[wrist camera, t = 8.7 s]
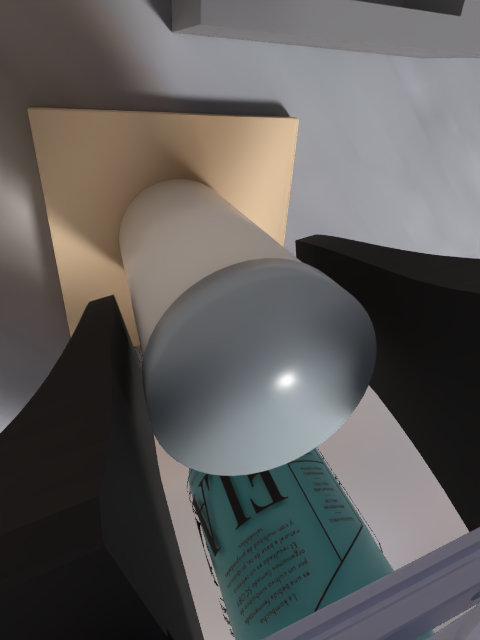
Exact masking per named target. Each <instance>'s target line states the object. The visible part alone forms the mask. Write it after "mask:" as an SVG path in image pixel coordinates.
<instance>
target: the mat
mask: <svg viewBox="0 0 480 640" xmlns="http://www.w3.org/2000/svg"><path fill="white" fill-rule="evenodd" d="M27 110H28V116H29V121H30V126H31V131H32V137H33V142H34V147H35V153H36V158H37V163H38V168H39V174H40V179H41V184H42V189H43V195H44V200H45V205H46V210H47V216H48V221H49V226H50V231H51V237H52V242H53V247H54V252H55V258H56V263H57V268H58V273H59V279H60V284H61V289H62V294H63V300H64V305H65V310H66V315H67V321H68V326H69V331H70V336H72V335H73V333H74V331H75V329H76V327H77V325H78V323H79V320H80V318H81V316H82V314H83V312H84V310H85V308H86V306H87V304H88V303H89V302H90V301H93V300H97V299H100V298H103V297H107V296H110V295H113V294H114V296H115V298H116V301H117V304H118V306H119V309H120V312H121V314H122V317H123V320H124V322H125V325H126V328H127V330H128V333H129V336H130V338H131V341H132V343H133V346H134V347H137V346H140V342H139V337H138V332H137V327H136V323H135V318H134V313H133V308H132V303H131V299H130V294H129V289H128V284H127V279H126V275H125V270H124V265H123V260H122V255H121V251H120V245H119V231H120V225H121V221H122V218H123V216H124V213H125V211H126V209H127V208H128V206H129V204H130V203H131V202H132V201H133V199H134V198H135V197H136V196H137V195H138V194H139V193H141V192H142V191H143V190H145V189H146V188H148V187H149V186H151V185H153V184H155V183H158V182H161V181H164V180H169V179H189V180H194V181H197V182H200V183H203V184H205V185H207V186H208V187H210V188H212V189H213V190H214V191H216V192H217V193H218V194H219V195H221V196H222V197H223V198H224V199H226V200H227V201H228V202H229V203H230V204H232V205H233V206H234V207H235V208H236V209H238V210H239V211H240V212H241V213H243V214H244V215H245V216H246V217H247V218H249V219H250V220H251V221H252V222H254V223H255V224H256V225H257V226H258V227H260V228H261V229H262V230H263V231H264V232H266V233H267V234H268V235H269V236H271V237H272V238H273V239H274V240H275V241H277V242H278V243H279V244H280V245H282V246H284V238H285V230H286V222H287V214H288V206H289V197H290V189H291V181H292V173H293V165H294V157H295V149H296V140H297V132H298V124H299V119H298V118H294V117H282V116H255V115H228V114H200V113H173V112H146V111H119V110H92V109H64V108H37V107H29V108H28V109H27Z"/></svg>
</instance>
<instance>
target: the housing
mask: <svg viewBox="0 0 480 640" xmlns="http://www.w3.org/2000/svg"><path fill="white" fill-rule="evenodd" d="M171 10H172V32H173V33H183V34H192V35H202V36H212V37H222V38H232V39H241V40H251V41H261V42H271V43H280V44H290V45H300V46H310V47H320V48H329V49H339V50H349V51H359V52H369V53H378V54H388V55H398V56H408V57H418V58H480V0H171Z"/></svg>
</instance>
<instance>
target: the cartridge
mask: <svg viewBox="0 0 480 640" xmlns="http://www.w3.org/2000/svg"><path fill="white" fill-rule="evenodd" d="M119 245H120V251H121V255H122V260H123V265H124V270H125V275H126V279H127V284H128V289H129V294H130V299H131V303H132V308H133V313H134V318H135V323H136V327H137V332H138V337H139V342H140V347H141V351H142V356H143V364H142V382H143V389H144V395H145V400H146V405H147V410H148V416H149V421H150V424H151V427H152V430H153V433H154V435H155V437H156V438H157V440H158V442H159V444H160V445H161V446H162V447H163V449H164V450H165V451H166V452H167V453H168V454H169V455H170V456H171V457H173V458H174V459H175V460H176V461H178V462H180V463H181V464H183V465H185V466H186V467H189V468H191V469H194V470H196V471H200V472H204V473H208V474H214V475H222V476H237V475H248V474H253V473H259V472H263V471H266V470H270V469H273V468H276V467H279V466H281V465H284V464H287V463H289V462H291V461H293V460H295V459H297V458H299V457H301V456H303V455H304V454H306V453H308V452H310V451H311V450H312V449H314V448H315V447H317V446H318V445H320V444H321V443H322V442H324V441H325V440H326V439H327V438H329V437H330V436H331V435H332V434H333V433H334V432H335V431H336V430H337V429H338V428H339V427H341V426H342V424H343V423H344V422H345V421H346V420H347V419H348V418H349V416H350V415H351V414H352V412H353V411H354V410H355V408H356V407H357V406H358V404H359V402H360V401H361V399H362V397H363V396H364V394H365V391H366V389H367V387H368V385H369V383H370V380H371V377H372V374H373V371H374V366H375V361H376V349H377V348H376V336H375V332H374V328H373V324H372V322H371V320H370V317H369V315H368V314H367V312H366V311H365V309H364V308H363V306H362V305H361V304H360V303H359V302H358V301H357V300H356V299H355V298H354V297H353V296H352V295H351V294H350V293H348V292H347V291H346V290H345V289H343V288H342V287H341V286H340V285H338V284H337V283H336V282H335V281H333V280H332V279H331V278H329V277H328V276H327V275H325V274H324V273H323V272H321V271H320V270H318V269H316V268H314V267H312V266H310V265H308V264H305V263H302V262H301V261H300V260H299V259H297V258H296V257H295V256H294V255H292V254H291V253H290V252H289V251H288V250H286V249H285V248H284V247H283V246H282V245H280V244H279V243H278V242H277V241H275V240H274V239H273V238H272V237H271V236H269V235H268V234H267V233H266V232H264V231H263V230H262V229H261V228H260V227H258V226H257V225H256V224H255V223H254V222H252V221H251V220H250V219H249V218H247V217H246V216H245V215H244V214H243V213H241V212H240V211H239V210H238V209H236V208H235V207H234V206H233V205H232V204H230V203H229V202H228V201H227V200H226V199H224V198H223V197H222V196H221V195H219V194H218V193H217V192H216V191H214V190H213V189H212V188H210V187H208V186H207V185H205V184H203V183H200V182H197V181H194V180H189V179H169V180H164V181H161V182H158V183H155V184H153V185H151V186H149V187H148V188H146V189H145V190H143V191H142V192H141V193H139V194H138V195H137V196H136V197H135V198H134V199H133V201H132V202H131V203H130V204H129V206H128V208H127V209H126V211H125V213H124V216H123V218H122V221H121V225H120V231H119Z"/></svg>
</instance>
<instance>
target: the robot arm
mask: <svg viewBox="0 0 480 640" xmlns="http://www.w3.org/2000/svg"><path fill="white" fill-rule="evenodd" d="M295 242H296V258H297V259H299V260H300V261H301V262H302V263H305V264H308V265H310V266H312V267H314V268H316V269H318V270H320V271H321V272H323V273H324V274H325V275H327V276H328V277H329V278H331V279H332V280H333V281H335V282H336V283H337V284H338V285H340V286H341V287H342V288H343V289H345V290H346V291H347V292H348V293H350V294H351V295H352V296H353V297H354V298H355V299H356V300H357V301H358V302H359V303H360V304H361V305H362V306H363V308H364V309H365V311H366V312H367V314H368V315H369V317H370V320H371V322H372V324H373V328H374V332H375V336H376V348H377V349H376V361H375V366H374V371H373V374H372V377H371V380H370V383H369V386H370V387H371V388H372V389H373V390H374V391H375V393H376V394H377V395H378V396H379V398H380V399H381V400H382V402H383V403H384V404H385V406H386V407H387V408H388V410H389V411H390V412H391V413H392V415H393V416H394V418H395V419H396V420H397V422H398V423H399V424H400V426H401V427H402V428H403V430H404V431H405V433H406V434H407V436H408V437H409V439H410V440H411V441H412V443H413V444H414V446H415V447H416V449H417V450H418V451H419V453H420V454H421V456H422V457H423V459H424V460H425V462H426V463H427V465H428V466H429V468H430V470H431V471H432V473H433V474H434V475H435V477H436V478H437V480H438V482H439V483H440V485H441V486H442V488H443V489H444V491H445V492H446V494H447V496H448V497H449V499H450V501H451V502H452V504H453V506H454V507H455V509H456V510H457V512H458V514H459V515H460V517H461V519H462V520H463V522H464V523H465V525H466V527H467V528H468V530H469V533H467V534H465V535H463V536H462V537H460V538H457V539H456V540H454V541H452V542H450V543H448V544H446V545H444V546H442V547H440V548H438V549H436V550H434V551H432V552H431V553H429V554H427V555H425V556H423V557H421V558H419V559H417V560H415V561H413V562H411V563H409V564H407V565H405V566H403V567H402V568H399V569H398V570H396V571H394V572H392V573H390V574H388V575H386V576H384V577H382V578H380V579H378V580H376V581H374V582H372V583H370V584H369V585H367V586H365V587H363V588H361V589H359V590H357V591H355V592H353V593H351V594H349V595H347V596H345V597H343V598H341V599H339V600H338V601H336V602H334V603H332V604H330V605H328V606H326V607H324V608H322V609H320V610H318V611H316V612H314V613H312V614H310V615H309V616H307V617H305V618H303V619H301V620H299V621H297V622H295V623H293V624H291V625H289V626H287V627H285V628H283V629H281V630H280V631H278V632H276V633H274V634H272V635H270V636H268V637H266V638H264V639H262V640H414V639H416V638H418V637H419V636H421V635H423V634H425V633H427V632H428V631H430V630H432V629H434V628H435V627H437V626H439V625H441V624H442V623H444V622H446V621H448V620H449V619H451V618H453V617H455V616H457V615H458V614H460V613H462V612H464V611H465V610H467V609H469V608H471V607H472V606H474V605H476V604H477V605H476V607H474V608H473V609H471V610H470V611H468V612H466V613H465V614H463V615H462V616H461V617H459V618H458V619H456V620H454V621H453V622H451V623H450V624H449V625H447V626H445V627H444V628H442V629H441V630H439V631H438V632H436V633H435V634H433V635H432V636H430V637H429V638H427V639H426V640H480V259H473V258H461V257H450V256H440V255H432V254H424V253H418V252H412V251H405V250H400V249H394V248H389V247H384V246H379V245H374V244H369V243H364V242H359V241H354V240H349V239H344V238H339V237H334V236H327V235H313V236H309V237H306V238H302V239H299V240H296V241H295ZM0 640H204V638H203V634H202V631H201V627H200V623H199V620H198V616H197V613H196V609H195V606H194V602H193V598H192V595H191V591H190V587H189V584H188V580H187V576H186V572H185V569H184V565H183V561H182V558H181V554H180V550H179V547H178V543H177V539H176V536H175V531H174V528H173V524H172V520H171V517H170V512H169V508H168V505H167V501H166V497H165V493H164V489H163V485H162V482H161V477H160V472H159V466H158V461H157V455H156V447H155V441H154V434H153V430H152V427H151V424H150V421H149V416H148V410H147V405H146V400H145V395H144V389H143V382H142V370H141V367H140V363H139V360H138V357H137V354H136V351H135V349H134V346H133V343H132V341H131V338H130V336H129V333H128V330H127V328H126V325H125V322H124V320H123V317H122V314H121V312H120V309H119V306H118V304H117V301H116V298H115V296H114V294H113V295H110V296H107V297H103V298H100V299H97V300H93V301H90V302H89V303H88V304H87V306H86V308H85V310H84V312H83V314H82V316H81V318H80V320H79V323H78V325H77V327H76V329H75V331H74V333H73V335H72V336H71V338H70V340H69V342H68V344H67V346H66V348H65V349H64V351H63V353H62V355H61V356H60V358H59V360H58V361H57V363H56V364H55V366H54V368H53V369H52V371H51V372H50V374H49V376H48V377H47V378H46V380H45V381H44V383H43V384H42V385H41V387H40V388H39V389H38V391H37V392H36V393H35V395H34V396H33V397H32V398H31V399H30V401H29V402H28V403H27V404H26V406H25V407H24V408H23V409H22V411H21V412H20V413H19V414H18V415H17V416H16V417H15V418H14V420H13V421H12V422H11V423H10V424H9V425H8V426H7V427H6V428H5V429H4V430H3V431H2V432H1V433H0Z"/></svg>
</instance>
